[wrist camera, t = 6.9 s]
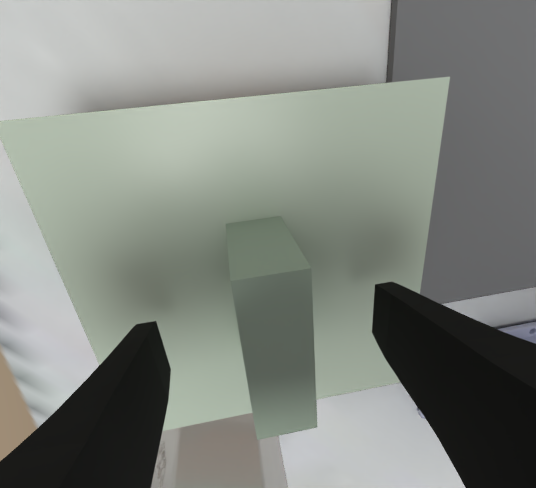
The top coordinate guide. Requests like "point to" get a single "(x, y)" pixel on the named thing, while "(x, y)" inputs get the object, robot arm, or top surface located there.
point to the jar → (219, 457)
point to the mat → (476, 140)
